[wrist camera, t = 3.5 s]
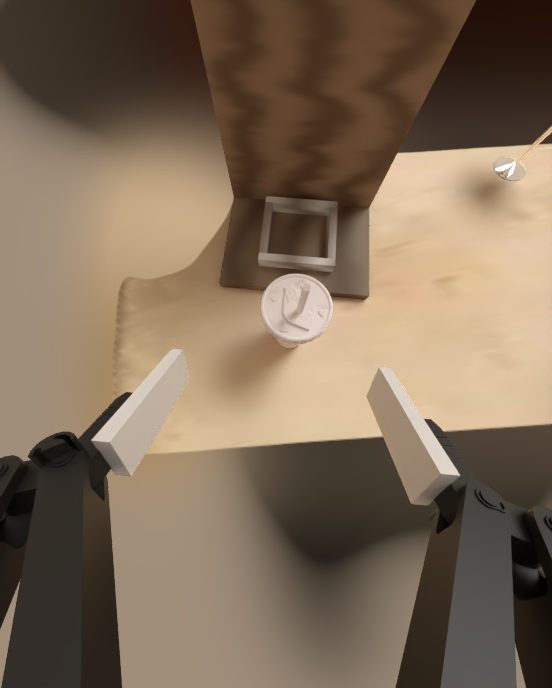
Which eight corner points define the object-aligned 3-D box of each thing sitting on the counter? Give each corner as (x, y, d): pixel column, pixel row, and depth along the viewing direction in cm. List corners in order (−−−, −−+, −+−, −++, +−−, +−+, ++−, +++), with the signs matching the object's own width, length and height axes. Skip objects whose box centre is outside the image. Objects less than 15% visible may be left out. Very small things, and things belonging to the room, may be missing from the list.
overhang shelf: (366, 202, 32) (673, -432, 7) (365, 299, 28) (944, -278, 4) (237, 192, 32) (111, -442, 8) (221, 286, 29) (-97, -310, 4)
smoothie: (277, 366, 26) (277, 342, 13) (257, 322, 28) (240, 257, 14) (322, 346, 27) (369, 303, 13) (301, 304, 28) (325, 224, 14)
